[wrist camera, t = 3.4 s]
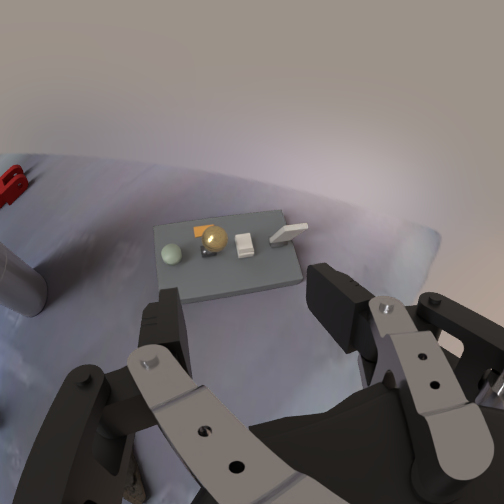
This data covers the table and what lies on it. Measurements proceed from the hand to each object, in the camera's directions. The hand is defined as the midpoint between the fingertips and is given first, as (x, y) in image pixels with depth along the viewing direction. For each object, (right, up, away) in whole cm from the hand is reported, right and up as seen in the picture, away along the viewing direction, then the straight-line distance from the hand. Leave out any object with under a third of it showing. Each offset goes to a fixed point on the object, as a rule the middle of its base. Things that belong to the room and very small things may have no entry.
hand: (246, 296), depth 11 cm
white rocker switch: (-1, +3, +35) cm, 35 cm away
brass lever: (-7, +2, +33) cm, 34 cm away
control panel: (-5, +1, +38) cm, 38 cm away
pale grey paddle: (+5, +4, +36) cm, 36 cm away
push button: (-13, +1, +33) cm, 36 cm away
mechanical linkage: (-63, +15, +36) cm, 74 cm away
